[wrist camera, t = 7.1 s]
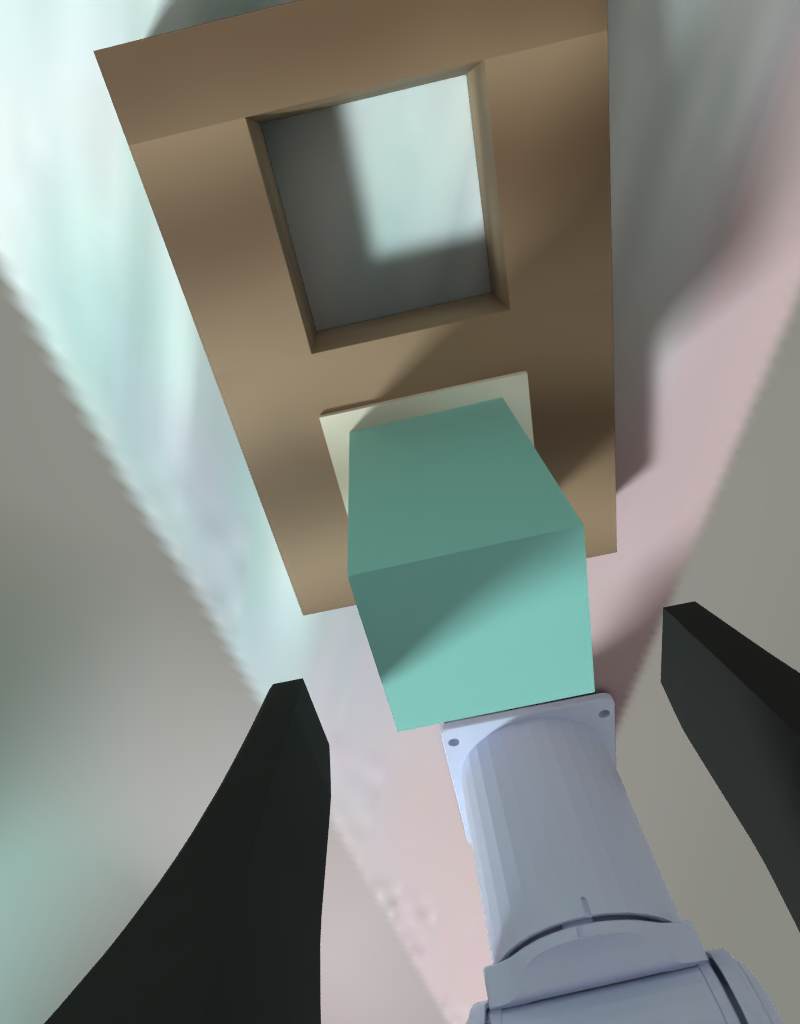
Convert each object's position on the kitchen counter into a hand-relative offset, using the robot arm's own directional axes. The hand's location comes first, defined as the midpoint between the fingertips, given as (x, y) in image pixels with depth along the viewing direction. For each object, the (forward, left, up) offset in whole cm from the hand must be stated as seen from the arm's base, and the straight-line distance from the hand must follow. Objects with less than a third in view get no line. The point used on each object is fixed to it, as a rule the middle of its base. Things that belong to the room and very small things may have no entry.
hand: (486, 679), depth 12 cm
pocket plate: (+4, 0, -10) cm, 11 cm away
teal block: (0, 0, -8) cm, 8 cm away
